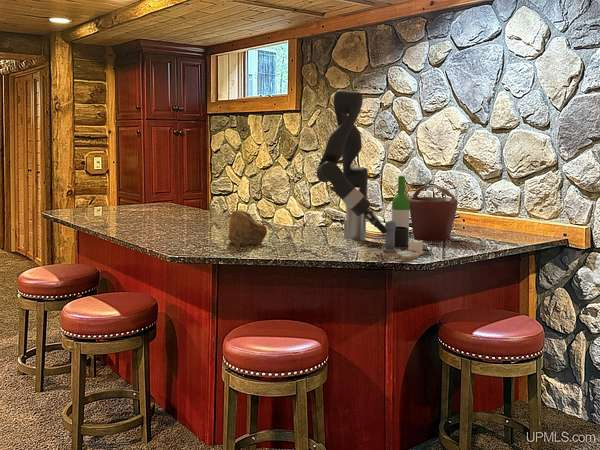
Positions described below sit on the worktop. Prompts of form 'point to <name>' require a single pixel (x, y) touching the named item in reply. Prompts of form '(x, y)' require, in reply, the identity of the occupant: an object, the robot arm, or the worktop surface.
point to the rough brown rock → (245, 229)
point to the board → (402, 255)
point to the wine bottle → (401, 206)
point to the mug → (401, 236)
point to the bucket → (432, 215)
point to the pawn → (390, 237)
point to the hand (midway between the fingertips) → (384, 230)
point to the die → (415, 246)
